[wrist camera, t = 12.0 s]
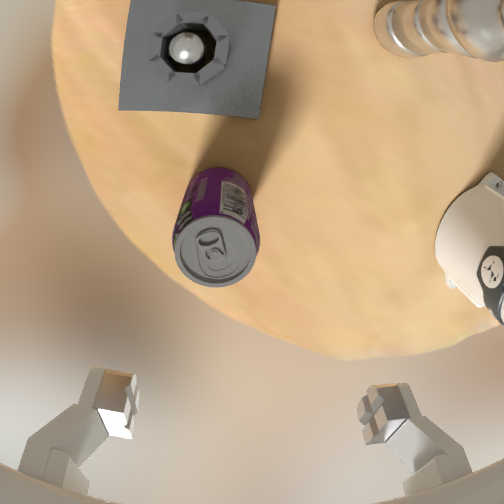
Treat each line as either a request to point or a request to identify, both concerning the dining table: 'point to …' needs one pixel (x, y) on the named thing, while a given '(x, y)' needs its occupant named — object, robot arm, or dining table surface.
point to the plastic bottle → (442, 28)
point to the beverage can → (216, 229)
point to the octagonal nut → (175, 27)
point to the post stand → (198, 59)
